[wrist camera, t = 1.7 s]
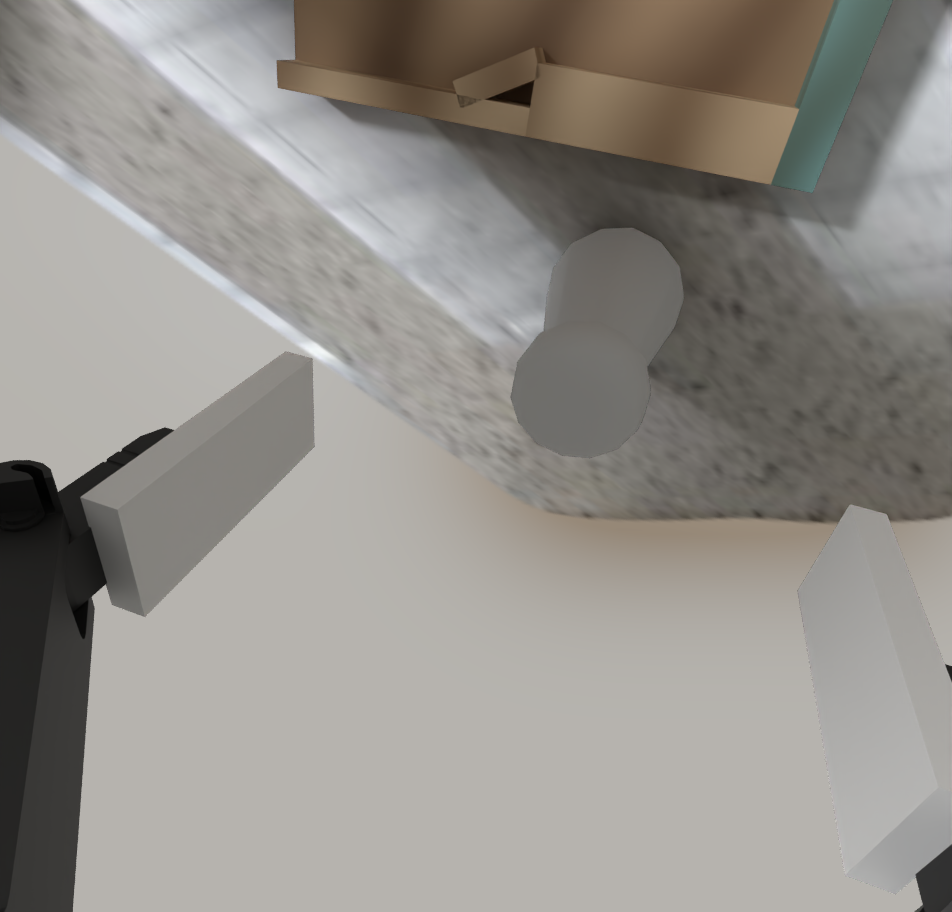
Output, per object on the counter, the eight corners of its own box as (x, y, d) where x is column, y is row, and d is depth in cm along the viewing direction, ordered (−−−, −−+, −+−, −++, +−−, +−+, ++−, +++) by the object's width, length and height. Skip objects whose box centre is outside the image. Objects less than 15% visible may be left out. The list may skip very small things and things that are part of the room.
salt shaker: (545, 232, 29) (456, 335, 19) (673, 199, 27) (653, 294, 16) (574, 349, 32) (509, 496, 21) (693, 327, 29) (686, 480, 19)
